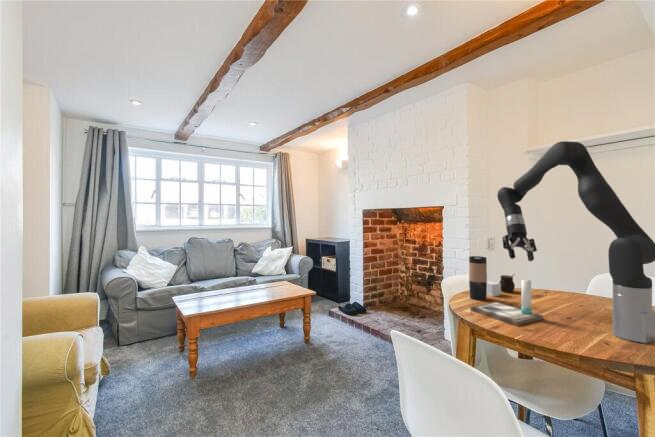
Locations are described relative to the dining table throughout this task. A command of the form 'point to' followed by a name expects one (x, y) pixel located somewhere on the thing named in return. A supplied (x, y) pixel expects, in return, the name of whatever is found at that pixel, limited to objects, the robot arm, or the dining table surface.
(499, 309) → the board
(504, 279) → the mate gourd
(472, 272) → the travel mug
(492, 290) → the white cube
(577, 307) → the dining table surface
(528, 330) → the dining table surface
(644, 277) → the robot arm
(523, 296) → the cylinder
